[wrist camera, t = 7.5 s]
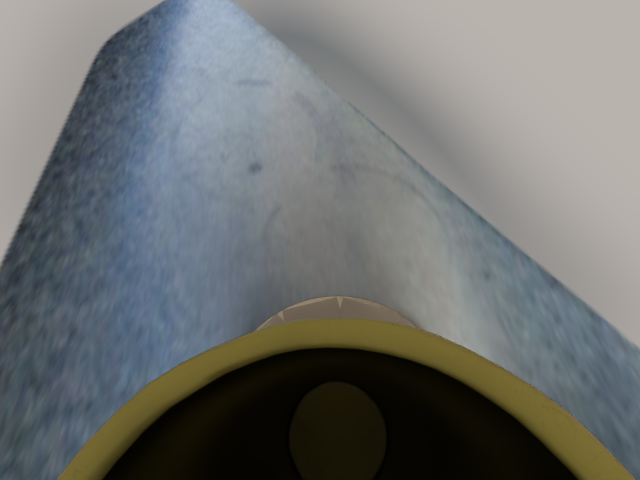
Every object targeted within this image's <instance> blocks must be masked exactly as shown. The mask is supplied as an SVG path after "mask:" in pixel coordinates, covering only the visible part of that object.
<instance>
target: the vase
mask: <svg viewBox="0 0 640 480" xmlns="http://www.w3.org/2000/svg"><path fill="white" fill-rule="evenodd" d="M57 480H636V479H635V478H634V477H633V476H632V475H631V474H630V473H629V472H628V471H627V470H626V469H625V467H624V466H623V465H622V464H621V463H620V462H619V461H618V460H617V459H616V458H615V457H614V456H613V455H612V454H611V453H610V452H609V451H608V450H607V449H606V448H605V446H604V445H603V444H602V443H601V442H600V441H599V440H598V439H597V438H596V437H595V436H593V435H592V434H591V433H590V432H589V431H588V430H587V429H586V428H585V427H584V426H583V425H582V424H581V423H579V422H578V421H577V420H576V419H575V418H574V417H573V416H572V415H571V414H570V413H569V412H568V411H566V410H565V409H563V408H562V407H561V406H559V405H558V404H557V403H555V402H554V401H553V400H551V399H550V398H549V397H547V396H546V395H545V394H543V393H542V392H541V391H539V390H538V389H536V388H535V387H533V386H532V385H530V384H528V383H527V382H525V381H523V380H522V379H520V378H519V377H517V376H515V375H514V374H512V373H510V372H509V371H507V370H505V369H504V368H502V367H500V366H498V365H497V364H495V363H493V362H491V361H489V360H487V359H486V358H484V357H482V356H480V355H478V354H476V353H475V352H473V351H471V350H469V349H467V348H465V347H462V346H460V345H458V344H456V343H454V342H451V341H449V340H447V339H445V338H443V337H441V336H438V335H436V334H433V333H430V332H427V331H424V330H421V329H418V328H415V327H412V326H407V325H403V324H398V323H394V322H389V321H381V320H371V319H361V318H315V319H303V320H293V321H289V322H284V323H280V324H275V325H271V326H268V327H265V328H262V329H259V330H257V331H254V332H251V333H249V334H246V335H243V336H241V337H238V338H236V339H233V340H231V341H228V342H226V343H223V344H220V345H218V346H215V347H213V348H211V349H209V350H207V351H205V352H203V353H201V354H199V355H197V356H194V357H192V358H190V359H188V360H186V361H184V362H182V363H180V364H179V365H177V366H176V367H174V368H172V369H171V370H169V371H168V372H166V373H164V374H163V375H161V376H160V377H158V378H156V379H155V380H153V381H152V382H150V383H149V384H148V385H147V386H145V387H144V388H143V389H142V390H141V391H140V392H139V393H137V394H136V395H135V396H134V397H133V398H132V399H131V400H129V401H128V402H127V403H126V404H125V405H124V406H123V407H121V408H120V409H119V410H118V411H117V412H116V413H115V414H114V415H113V416H112V417H111V418H110V419H109V420H108V421H107V422H106V423H105V424H104V425H103V426H102V427H101V428H100V429H99V430H98V431H97V432H96V433H95V434H94V436H93V437H92V438H91V439H90V440H89V441H88V442H87V443H86V444H85V445H84V446H83V448H82V449H81V450H80V451H79V453H78V454H77V455H76V456H75V458H74V459H73V460H72V461H71V463H70V464H69V465H68V466H67V467H66V469H65V470H64V471H63V472H62V474H61V475H60V476H59V478H58V479H57Z"/></svg>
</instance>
